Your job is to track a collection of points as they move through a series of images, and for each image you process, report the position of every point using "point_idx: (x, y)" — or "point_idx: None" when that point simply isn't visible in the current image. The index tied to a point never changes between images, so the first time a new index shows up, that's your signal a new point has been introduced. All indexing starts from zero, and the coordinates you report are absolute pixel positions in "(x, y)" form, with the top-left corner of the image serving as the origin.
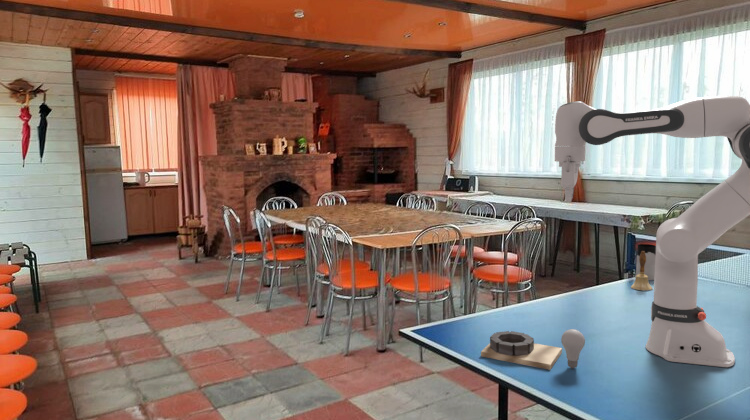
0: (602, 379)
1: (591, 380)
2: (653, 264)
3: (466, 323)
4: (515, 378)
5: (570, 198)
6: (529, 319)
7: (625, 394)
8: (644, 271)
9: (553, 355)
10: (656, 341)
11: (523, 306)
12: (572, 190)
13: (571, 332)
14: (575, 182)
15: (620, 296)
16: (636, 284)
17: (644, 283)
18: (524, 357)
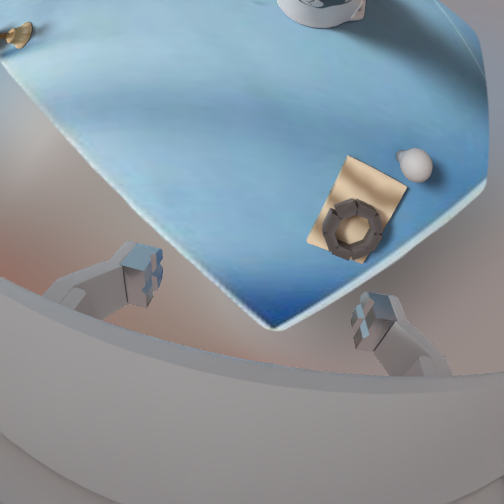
0: (428, 129)
1: (431, 144)
2: None
3: (233, 273)
4: (422, 228)
5: (400, 315)
6: (192, 183)
7: (460, 121)
8: None
9: (378, 175)
10: (338, 17)
11: (128, 190)
12: (100, 281)
13: (428, 174)
14: (332, 401)
15: (54, 51)
16: (21, 40)
17: (22, 30)
18: (384, 215)
